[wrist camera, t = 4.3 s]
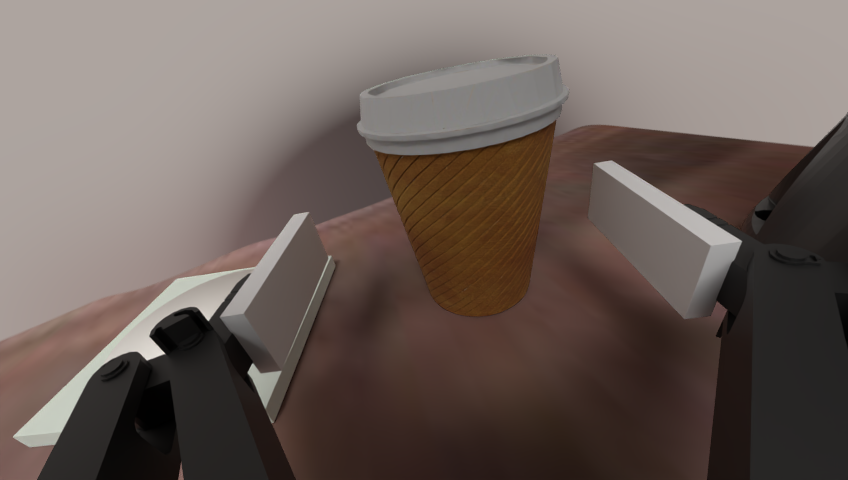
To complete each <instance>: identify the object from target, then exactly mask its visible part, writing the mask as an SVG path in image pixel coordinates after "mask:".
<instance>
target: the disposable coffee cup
mask: <svg viewBox="0 0 848 480" xmlns="http://www.w3.org/2000/svg"><path fill="white" fill-rule="evenodd" d="M569 90H570V89H569V88H568V87H567V86H566V85H563V84H562V79H561V73H560V67H559V60H558V57H557V56H555V55H526V56H516V57H507V58H500V59H493V60H487V61H481V62H475V63H469V64H463V65H458V66H453V67H449V68H443V69H438V70H433V71H429V72H425V73H420V74H416V75H412V76H408V77H404V78H400V79H397V80H394V81H390V82H386V83H384V84H380V85H377V86H374V87H372V88H369V89H367V90H365V91H363V92H362V93H360V110H361V121H360V122H359V123H358V124H357V129H358V132H359V133H360V134H361V136H363V137H365V138H366V142H367V144H368V146H370V147H371V148H372V149H373V150H374V152H375V154H376V156H377V159H378V161H379V164H380V166H381V169H382V171H383V174H384V177H385V179H386V182H387V184H388V186H389V189H390V192H391V194H392V197H393V200H394V202H395V204H396V207H397V210H398V212H399V215H400V217H401V220H402V222H403V225H404V227H405V230H406V232H407V235H408V238H409V240H410V242H411V245H412V248H413V250H414V252H415V255H416V258H417V260H418V263H419V265H420V268H421V270H422V273H423V275H424V277H425V280H426V283H427V285H428V288H429V291H430V294H431V296H432V297H433V299H434V300H435V302H436V303H438V304H439V305H440V306H441V307H442V308H444V309H446V310H447V311H450V312H453V313H455V314H459V315H464V316H487V315H492V314H496V313H500V312H502V311H504V310H506V309H509V308H511V307H512V306H514V305H515V304H516V303H518V302H519V301H520V300H521V299H522V298H523V297H524V295H525V293H526V292H527V289H528V286H529V282H530V276H531V269H532V263H533V258H534V252H535V246H536V239H537V234H538V227H539V221H540V216H541V210H542V203H543V197H544V191H545V185H546V179H547V173H548V167H549V161H550V155H551V149H552V143H553V137H554V130H555V125H556V119H557V118H558V117H560V114H561V110H562V104H563V103H564V102H565V101H566V100H567V99H568V95H569Z"/></svg>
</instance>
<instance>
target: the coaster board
mask: <svg viewBox="0 0 848 480" xmlns="http://www.w3.org/2000/svg"><path fill="white" fill-rule="evenodd" d="M328 258H329V259H328V261H327V264H326V266H325V268H324V271H323V273H322V276H321V278H320V280H319V283H318V285H317V288H316V290H315V292H314V295H313V297H312V300H311V302H310V304H309V307H308V309H307V312H306V314H305V316H304V319H303V321H302V323H301V326H300V328H299V331H298V333H297V335H296V338H295V340H294V343H293V345H292V347H291V350H290V352H289V355H288V357H287V359H286V362H285V364H284V367H283V369H282V371H277V372H269V373H260V372H259V371H258V369H257V368H256V366H255V365H254V364H253V363H252V365H251V367H250V369H249V371H248V374H249V375H250V377H251V378H252V380H253V382H254V384H255V387H256V389H257V391H258V393H259V396H260V398H261V400H262V403H263V405H264V407H265V410H266V412H267V414H268V416H269V419H270V421H271V423H274V422H275V419H276V416H277V414H278V411H279V409H280V406H281V404H282V401H283V399H284V396H285V394H286V391H287V388H288V386H289V383H290V381H291V378H292V376H293V373H294V371H295V368H296V366H297V363H298V360H299V358H300V355H301V353H302V350H303V348H304V345H305V343H306V340H307V338H308V335H309V332H310V330H311V327H312V325H313V322H314V320H315V317H316V315H317V312H318V310H319V307H320V304H321V302H322V299H323V297H324V294H325V292H326V289H327V287H328V284H329V282H330V279H331V276H332V274H333V271H334V269H335V263H334V261H333V258H332V256H328ZM255 268H256V267H252V268H246V269H239V270H232V271H226V272H219V273H212V274H206V275H199V276H193V277H186V278H179V279H176V280H175V281H174V282H173V283H172V284H171V285H170V286H169V287H168V288H167V289H166V290H165V291H163V292H162V293H161V294H160V295H159V296H158V297H157V298H156V299H155V300H154V301H153V302H152V303H151V304H150V305H149V306H148V307H147V308H146V309H145V310H144V311H143V312H142V313H141V314H140V315H139V316H138V317H137V318H135V319H134V320H133V321H132V322H131V323H130V324H129V325H128V326H127V327H126V328H125V329H124V330H123V331H122V332H121V333H120V334H119V335H118V336H117V337H116V338H115V339H114V340H113V341H112V342H111V343H110V344H108V345H107V346H106V347H105V348H104V349H103V350H102V351H101V352H100V353H99V354H98V355H97V356H96V357H95V358H94V359H93V360H92V361H91V362H90V363H89V364H88V365H87V366H86V367H85V368H84V369H83V370H81V371H80V372H79V373H78V374H77V375H76V376H75V377H74V378H73V379H72V380H71V381H70V382H69V383H68V384H67V385H66V386H65V387H64V388H63V389H62V390H61V391H60V392H59V393H58V394H57V395H56V396H55V397H53V398H52V399H51V400H50V401H49V402H48V403H47V404H46V405H45V406H44V407H43V408H42V409H41V410H40V411H39V412H38V413H37V414H36V415H35V416H34V417H33V418H32V419H31V420H30V421H29V422H28V423H26V424H25V425H24V426H23V427H22V428H21V429H20V430H19V431H18V432H17V433H16V434H15V435H14V436H13V438H15V439H17V440H18V441H20V442H22V443H23V444H25V445H27V446H28V447H37V446H47V445H55V444H56V442H57V440H58V438H59V436H60V434H61V432H62V430H63V428H64V426H65V425H66V423H67V421H68V419H69V417H70V415H71V413H72V411H73V409H74V407H75V405H76V403H77V401H78V399H79V397H80V396H81V394H82V392H83V390H84V388H85V386H86V384H87V382H88V381H89V379H90V378H91V376H92V375H93V374H94V373H95V372H96V371H97V370H98V369H99V368H100V367H101V366H102V365H104V364H105V363H107V362H108V361H109V360H111V359H113V358H116V357H118V356H120V355H122V354H125V353H128V352H138V353H140V354H141V355H142V356H143V357H144V358H145V359H146V360H150V359H152V358H155V357H158V356H161V355H163V354H165V353H164V352H163V351H162V350H161V349H160V348H159V347H158V346H157V344H156V343H155V342H154V341H153V340H152V339H151V338H150V337H149V335H150V332H151V330H152V329H153V328H154V327H155V325H156V324H157V323H159V322H160V321H161V320H162V319H163V318H165V317H167V316H168V315H170V314H172V313H173V312H176V311H178V310H180V309H183V308H187V307H197V308H198V309H199V310H200V311H201V312H202V314H203V315H204V316H205V318H206V319H207V320H208V321H209V320H210V318H211V317H212V316H213V314H214V313H215V312H216V310H217V309H218V308H219V306H220V305H221V304H222V302H225V298H226V297H227V296H228V294H230V292H231V290H232V289H233V288H234V286H235V285H236V284H237V282H239V281H240V280H241V279H242V278H244V277H245V276H246V275H247V274H249V273H252V272H253V270H254V269H255Z"/></svg>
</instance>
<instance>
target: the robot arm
mask: <svg viewBox="0 0 848 480" xmlns="http://www.w3.org/2000/svg"><path fill="white" fill-rule="evenodd" d="M588 219H589V220H590V221H591V222H592V223H593V224H594V225H595V226H596V227H597V228H598V229H599V230H600V231H601V232H602V233H603V234H604V236H605V237H606V238H607V239H608V240H609V241H610V242H611V243H612V244H613V245H614V246H615V247H616V248H617V249H618V250H619V251H620V252H621V253H622V254H623V255H624V256H625V258H626V259H627V260H628V261H629V262H630V263H631V264H632V265H633V266H634V267H635V268H636V269H637V270H638V271H639V272H640V273H641V274H642V275H643V276H644V277H645V279H646V280H647V281H648V282H649V283H650V284H651V285H652V286H653V287H654V288H655V289H656V290H657V291H658V292H659V293H660V294H661V295H662V296H663V297H664V298H665V299H666V301H667V302H668V303H669V304H670V305H671V306H672V307H673V308H674V309H675V310H676V311H677V312H678V313H679V314H680V315H681V316H682V317H683V318H684V319H691V318H698V317H706V316H711V314H712V312H713V309H714V307H715V304H716V302H717V301H718V302H719V303H720V304H721V305H723V306H724V307H725V308H726V309H727V312H726V315H725V317H724V319H723V321H722V323H721V326H720V328H719V330H718V332H717V334H716V337H719V338H721V336H722V339H721V349H720V359H719V368H718V378H717V388H716V398H715V407H714V417H713V427H712V437H711V446H710V456H709V466H708V476H707V480H848V113H847V114H846V116H845V117H844V118H843V119H842V120H841V121H840V122H839V123H838V124H837V125H836V126H835V127H834V128H833V129H832V130H831V131H830V132H829V133H828V134H827V135H826V136H825V137H824V138H823V139H822V140H821V141H820V142H819V143H818V144H817V145H816V146H815V147H814V148H813V149H812V150H811V151H810V152H809V153H808V154H807V155H806V156H805V157H804V158H803V159H802V160H801V161H800V162H799V163H798V164H797V165H796V166H795V167H794V168H793V169H792V170H791V171H790V172H789V173H788V174H787V175H786V176H785V177H784V179H783V180H782V181H781V182H780V183H779V184H778V185H777V186H776V187H775V188H774V190H773V191H772V192H771V193H770V194H769V196H767V197H766V198H764V199H763V200H762V201H761V202H760V203H759V204H758V205H757V206H756V207H755V208H754V209H753V210H752V211H751V212H750V213H749V215H748V216H747V218H746V220H745V221H744V224H743V226H742V228H741V231H740V230H739V229H737V228H735V227H734V226H732V225H728V223H727V222H725V221H723V220H722V219H720V218H719V219H718V218H717V216H715V215H713V214H712V213H710V212H708V211H706V210H705V209H702V208H699V207H696V206H692V205H689V204H684V205H683V204H681V203H680V202H678V201H676V200H675V199H673V198H672V197H670V196H668V195H667V194H665V193H663V192H662V191H660V190H659V189H657V188H655V187H654V186H652V185H651V184H649V183H647V182H646V181H644V180H642V179H641V178H639V177H638V176H636V175H634V174H633V173H631V172H630V171H628V170H626V169H625V168H623V167H621V166H620V165H618V164H617V163H615V162H613V161H612V160H611V161H605V162H599V163H594V164H593V174H592V183H591V192H590V201H589V210H588ZM328 259H329V258H328V256H327V253H326V251H325V249H324V246H323V244H322V241H321V239H320V237H319V234H318V232H317V229H316V227H315V225H314V222H313V220H312V217H311V215H310V213H309V212H306V213H300V214H295V215H293V217H292V218H291V219H290V221H289V222H288V224H287V225H286V226H285V228H284V229H283V231H282V232H281V233H280V235H279V236H278V237H277V239H276V240H275V241H274V243H273V244H272V246H271V247H270V248H269V250H268V251H267V252H266V254H265V255H264V257H263V258H262V259H261V261H260V262H259V264H258V265H257V266H256V268H255V269H254V270H253V272H252V273H249V274H247V275H246V276H245V277H244V278H242V279H241V280H240V281H239V282H237V284H236V285H235V286H234V288H233V289H232V290H231V292H230V294H228V296H227V297H226V298H225V302H222V304H221V305H220V306H219V308H218V309H217V310H216V312H215V313H214V314H213V316H212V317H211V318H210V320H209V321H208V320H207V319H206V318H205V316H204V315H203V314H202V312H201V311H200V310H199V309H198V308H197V307H187V308H183V309H180V310H178V311H176V312H173V313H172V314H170V315H168V316H167V317H165V318H163V319H162V320H161V321H160V322H159V323H157V324H156V325H155V327H154V328H153V329H152V330H151V332H150V335H149V337H150V338H151V339H152V340H153V341H154V342H155V343H156V344H157V346H158V347H159V348H160V349H161V350H162V351H163V352H164V353H165V354H163V355H161V356H158V357H155V358H152V359H150V360H146V359H145V358H144V357H143V356H142V355H141V354H140V353H138V352H128V353H125V354H122V355H120V356H118V357H116V358H113V359H111V360H109V361H108V362H107V363H105V364H104V365H102V366H101V367H100V368H99V369H98V370H97V371H96V372H95V373H94V374H93V375H92V376H91V378H90V379H89V381H88V382H87V384H86V386H85V388H84V390H83V392H82V394H81V396H80V397H79V399H78V401H77V403H76V405H75V407H74V409H73V411H72V413H71V415H70V417H69V419H68V421H67V423H66V425H65V426H64V428H63V430H62V432H61V434H60V436H59V438H58V440H57V442H56V444H55V446H54V448H53V450H52V452H51V454H50V456H49V457H48V459H47V461H46V463H45V465H44V467H43V469H42V471H41V473H40V475H39V477H38V479H37V480H178V477H179V471H180V465H181V463H182V470H183V477H184V480H296V478H295V476H294V474H293V472H292V469H291V467H290V465H289V462H288V460H287V458H286V455H285V453H284V451H283V449H282V446H281V444H280V442H279V439H278V437H277V435H276V433H275V430H274V428H273V426H272V423H271V421H270V419H269V416H268V414H267V412H266V410H265V407H264V405H263V403H262V400H261V398H260V396H259V393H258V391H257V389H256V387H255V384H254V382H253V380H252V378H251V377H250V375H249V374H248V371H249V369H250V367H251V365H252V363H253V364H254V365H255V366H256V368H257V369H258V371H259V372H260V373H269V372H277V371H282V369H283V367H284V364H285V362H286V359H287V357H288V355H289V352H290V350H291V347H292V345H293V343H294V340H295V338H296V335H297V333H298V331H299V328H300V326H301V323H302V321H303V319H304V316H305V314H306V312H307V309H308V307H309V304H310V302H311V300H312V297H313V295H314V292H315V290H316V288H317V285H318V283H319V280H320V278H321V276H322V273H323V271H324V268H325V266H326V264H327V261H328Z"/></svg>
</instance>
